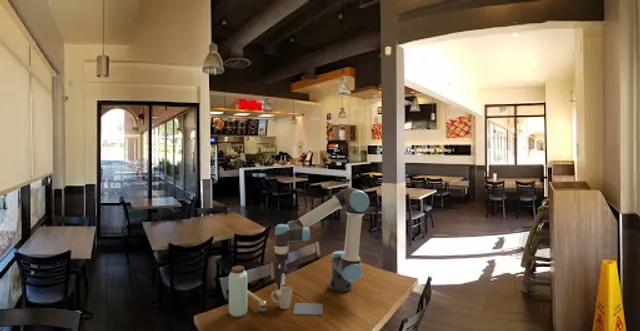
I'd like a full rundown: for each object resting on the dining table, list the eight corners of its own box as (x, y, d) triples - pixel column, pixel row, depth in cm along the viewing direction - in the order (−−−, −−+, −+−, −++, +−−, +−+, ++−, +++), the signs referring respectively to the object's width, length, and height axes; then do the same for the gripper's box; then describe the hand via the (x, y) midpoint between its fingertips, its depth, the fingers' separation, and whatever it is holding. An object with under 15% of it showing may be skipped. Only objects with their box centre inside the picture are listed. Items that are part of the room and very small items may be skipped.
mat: (323, 304, 198) (323, 303, 198) (322, 315, 186) (322, 314, 186) (295, 303, 199) (295, 302, 199) (292, 314, 187) (292, 313, 187)
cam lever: (245, 290, 209) (245, 285, 208) (268, 306, 189) (268, 301, 189) (239, 292, 206) (239, 287, 206) (261, 309, 186) (261, 303, 186)
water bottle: (231, 319, 181) (230, 272, 179) (226, 310, 190) (226, 266, 188) (250, 315, 186) (249, 269, 184) (244, 306, 195) (244, 263, 193)
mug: (289, 310, 191) (289, 293, 190) (268, 308, 193) (268, 291, 193) (294, 303, 199) (294, 286, 198) (273, 301, 201) (273, 284, 201)
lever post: (267, 309, 192) (267, 304, 191) (266, 313, 187) (266, 308, 187) (259, 309, 192) (259, 304, 192) (258, 313, 187) (258, 308, 187)
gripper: (278, 245, 206) (277, 280, 208) (270, 259, 181) (270, 299, 183) (290, 245, 206) (289, 280, 208) (285, 260, 181) (284, 299, 183)
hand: (280, 289), depth 195 cm, fingers open, 13 cm apart
